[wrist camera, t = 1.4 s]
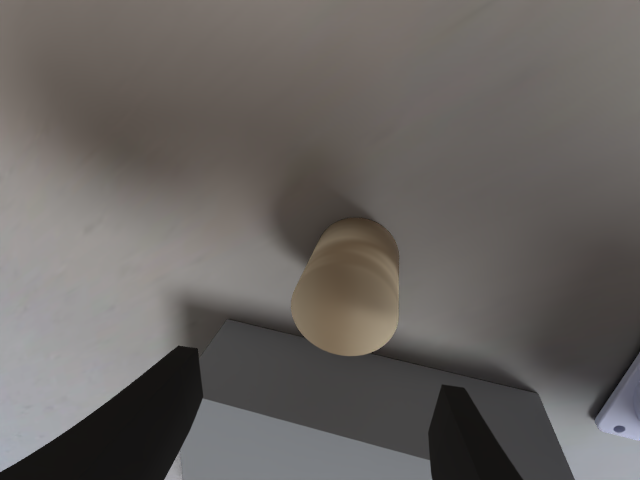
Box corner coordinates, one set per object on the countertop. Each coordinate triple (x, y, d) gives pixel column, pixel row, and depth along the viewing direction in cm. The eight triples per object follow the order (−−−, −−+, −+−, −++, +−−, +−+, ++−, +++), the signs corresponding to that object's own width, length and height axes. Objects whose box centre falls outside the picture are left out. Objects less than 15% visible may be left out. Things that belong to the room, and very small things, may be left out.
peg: (407, 226, 17) (410, 279, 13) (389, 298, 19) (386, 366, 15) (322, 210, 18) (296, 254, 13) (312, 282, 20) (286, 342, 15)
